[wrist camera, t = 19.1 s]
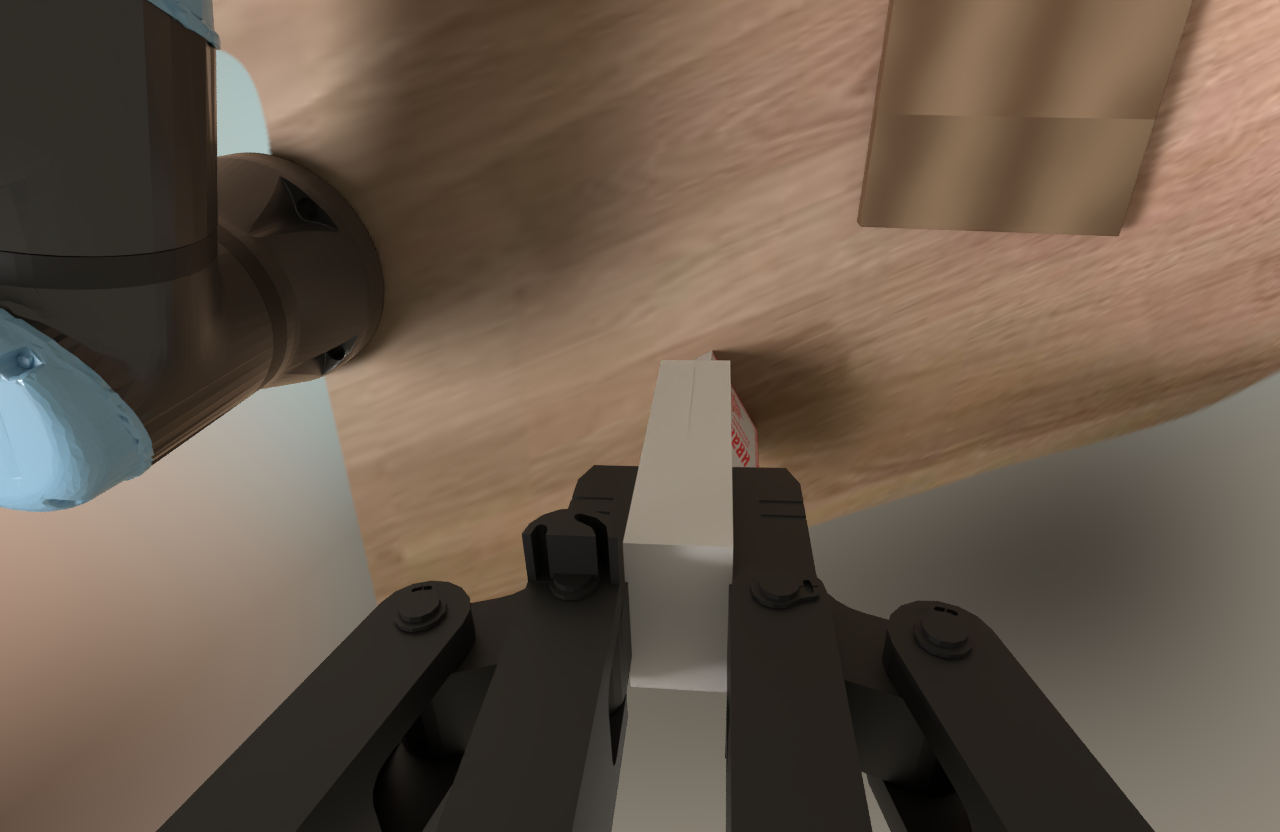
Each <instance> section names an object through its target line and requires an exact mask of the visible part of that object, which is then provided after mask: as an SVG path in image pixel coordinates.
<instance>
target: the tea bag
mask: <svg viewBox="0 0 1280 832" xmlns="http://www.w3.org/2000/svg"><path fill="white" fill-rule="evenodd" d="M694 360H717V358H716V356H715V355H714V353H713V351H710V352H708V353H706V354H704V355H702V356H700V357H698V358H696V359H694ZM731 438H732V467H759V461H758V432H757V429H756V428H755V426H754V424H753V422H752V421H751V419H750V417H749V415H748V413H747V412H746V410H745V408H744V406H743V405H742V403H741V401H740V399H739V397H738V396H737V394H736V392H735V390H734V388H733V387H732V385H731Z"/></svg>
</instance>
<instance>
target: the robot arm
mask: <svg viewBox="0 0 1280 832" xmlns="http://www.w3.org/2000/svg"><path fill="white" fill-rule="evenodd" d="M216 49H217V50H220V38H219V35H218V34H217V33H216V32H215V30H214V19H213V4H212V0H0V507H3V508H8V509H13V510H21V511H33V512H48V511H57V510H63V509H68V508H72V507H75V506H78V505H80V504H84V503H86V502H88V501H90V500H92V499H94V498H95V497H97V496H99V495H100V494H102V493H104V492H105V491H107V490H109V489H111V488H112V487H114V486H115V485H117V484H119V483H121V482H123V481H126V480H130V479H133V478H134V477H137V476H140V475H142V474H143V473H144V472H145V471H146V470H148V469H149V468H150V466H152V465H153V464H154V463H156V462H157V461H159V460H160V459H161V458H163V457H164V456H166V455H167V454H169V453H170V452H171V451H173V450H174V449H176V448H177V447H179V446H180V445H181V444H183V443H184V442H186V441H187V440H189V439H190V438H191V437H193V436H194V435H196V434H197V433H198V432H200V431H201V430H203V429H204V428H205V427H207V426H208V425H210V424H211V423H213V422H214V421H215V420H217V419H218V418H220V417H221V416H222V415H224V414H225V413H227V412H228V411H230V410H231V409H232V408H234V407H235V406H237V405H238V404H239V403H241V402H242V401H244V400H245V399H247V398H248V397H249V396H250V395H252V394H253V393H255V392H256V391H258V390H259V389H264V388H270V387H276V386H282V385H288V384H294V383H300V382H306V381H310V380H314V379H317V378H320V377H323V376H325V375H327V374H329V373H331V372H333V371H335V370H337V369H338V368H340V367H341V366H342V365H344V364H345V363H346V362H348V361H349V360H350V359H352V358H353V357H354V356H356V355H357V354H358V353H359V352H360V351H361V350H362V349H363V348H364V347H365V346H366V345H367V343H368V342H369V341H370V339H371V338H372V336H373V334H374V332H375V330H376V328H377V326H378V323H379V320H380V317H381V313H382V307H383V297H384V287H383V276H382V271H381V266H380V262H379V258H378V255H377V252H376V249H375V247H374V244H373V242H372V240H371V238H370V236H369V234H368V232H367V230H366V228H365V226H364V225H363V223H362V222H361V220H360V218H359V217H358V216H357V214H356V213H355V211H354V210H353V209H352V208H351V206H350V205H349V204H348V203H347V202H346V200H345V199H344V198H343V197H342V196H341V195H340V194H339V193H338V192H337V191H336V190H335V189H334V188H332V187H331V186H330V185H329V184H328V183H326V182H325V181H324V180H323V179H321V178H320V177H318V176H317V175H315V174H314V173H312V172H311V171H309V170H307V169H306V168H304V167H302V166H300V165H298V164H296V163H294V162H291V161H288V160H286V159H283V158H280V157H277V156H272V155H268V154H261V153H236V154H230V155H225V156H219V157H217V110H216V109H217V104H216V102H217V101H216ZM522 539H523V547H524V554H525V561H526V569H527V576H528V583H527V586H526V588H525V589H523V590H521V591H519V592H517V593H515V594H512V595H508V596H505V597H501V598H496V599H491V600H486V601H480V602H475V603H470V598H469V596H468V595H467V594H466V592H465V591H464V590H463V589H462V588H461V587H459V586H457V585H454V584H452V583H450V582H442V581H427V582H422V583H416V584H412V585H410V586H407V587H405V588H403V589H400V590H398V591H396V592H394V593H393V594H392V595H390V596H389V597H388V598H386V599H385V600H384V601H382V602H381V603H380V604H379V605H378V606H377V607H376V608H375V609H374V610H373V611H372V612H371V613H370V614H369V616H367V617H366V618H365V620H363V622H361V624H360V625H359V626H358V627H357V628H356V629H355V630H354V631H353V632H352V633H351V634H350V635H349V636H348V637H347V638H346V639H345V640H344V641H343V642H342V643H341V644H340V645H339V646H338V647H337V648H336V649H335V650H334V651H333V652H332V653H331V654H330V655H329V656H328V657H327V658H326V659H325V660H324V661H323V662H322V663H321V664H320V665H319V666H318V667H317V668H316V669H315V670H314V671H313V672H312V673H311V674H310V675H309V676H308V678H306V679H305V681H304V682H303V683H302V684H301V685H300V686H299V687H298V688H297V689H296V690H295V691H294V692H293V693H292V694H291V695H290V696H289V697H288V698H287V699H286V700H285V701H284V702H283V703H282V704H281V705H280V706H279V707H278V708H277V709H276V710H275V711H274V712H273V713H272V714H271V715H270V716H269V717H268V718H267V719H266V720H265V721H264V722H263V723H262V724H261V726H259V727H258V729H256V730H255V731H254V732H253V733H252V734H251V736H249V738H248V739H247V740H246V741H245V742H244V743H243V744H242V745H241V746H240V747H239V748H238V749H237V750H236V751H235V752H234V753H233V754H232V755H231V756H230V757H229V758H228V759H227V760H226V761H225V762H224V763H223V764H222V765H221V766H220V767H219V768H218V769H217V770H216V771H215V772H214V773H213V774H212V775H211V776H210V777H209V778H208V779H207V780H206V781H205V782H204V783H203V784H202V785H201V786H200V787H199V788H198V789H197V790H196V791H195V792H194V793H193V794H192V795H191V797H190V798H189V799H188V800H187V801H186V802H185V803H184V804H183V805H182V806H181V807H180V808H179V809H178V810H177V811H176V812H175V813H174V814H173V815H172V816H171V817H170V818H169V819H168V820H167V821H166V822H165V823H164V824H163V825H162V826H161V827H160V828H159V829H158V830H157V831H156V832H611V830H612V823H613V815H614V809H615V802H616V795H617V789H618V782H619V774H620V768H621V761H622V753H623V747H624V740H625V733H626V726H627V719H628V711H627V694H626V691H627V685H628V679H629V672H630V680H631V686H632V687H646V688H663V689H680V690H696V691H712V692H727V711H726V747H725V758H726V832H872V827H871V821H870V816H869V811H868V806H867V800H866V795H865V789H864V784H863V779H862V773H861V772H864V773H866V774H867V779H868V782H869V785H870V787H871V789H872V792H873V794H874V795H875V798H876V800H877V802H878V804H879V807H880V809H881V811H882V813H883V815H884V818H885V820H886V822H887V824H888V826H889V828H890V831H891V832H1155V831H1154V830H1153V829H1152V828H1151V826H1150V825H1149V824H1148V823H1147V821H1146V820H1145V819H1144V818H1143V816H1142V815H1141V814H1140V813H1139V811H1138V810H1137V809H1136V808H1135V806H1134V805H1133V804H1132V803H1131V802H1130V800H1129V799H1128V798H1127V797H1126V795H1125V794H1124V793H1123V792H1122V790H1121V789H1120V788H1119V787H1118V785H1117V784H1116V783H1115V782H1114V780H1113V779H1112V778H1111V777H1110V775H1109V774H1108V773H1107V772H1106V770H1105V769H1104V768H1103V767H1102V765H1101V764H1100V763H1099V762H1098V761H1097V759H1096V758H1095V757H1094V755H1093V754H1092V753H1091V752H1090V751H1089V749H1088V748H1087V747H1086V746H1085V744H1084V743H1083V742H1082V741H1081V740H1080V738H1079V737H1078V736H1077V735H1076V733H1075V732H1074V731H1073V729H1072V728H1071V727H1070V726H1069V724H1068V723H1067V722H1066V721H1065V719H1064V718H1063V717H1062V716H1061V714H1060V713H1059V712H1058V711H1057V709H1056V708H1055V707H1054V706H1053V705H1052V703H1051V702H1050V701H1049V700H1048V698H1047V697H1046V696H1045V695H1044V693H1043V692H1042V691H1041V690H1040V688H1039V687H1038V686H1037V685H1036V683H1035V682H1034V681H1033V680H1032V678H1031V677H1030V676H1029V675H1028V673H1027V672H1026V671H1025V670H1024V668H1023V667H1022V666H1021V665H1020V664H1019V662H1018V661H1017V660H1016V659H1015V657H1014V656H1013V655H1012V654H1011V652H1010V651H1009V650H1008V649H1007V647H1006V646H1005V645H1004V644H1003V642H1002V641H1001V640H1000V639H999V638H998V636H997V635H996V634H995V633H994V631H993V630H992V629H991V628H990V627H989V626H987V625H986V624H985V623H984V622H983V621H982V620H981V619H979V618H978V617H977V616H976V615H974V614H972V613H970V612H968V611H966V610H964V609H962V608H960V607H958V606H954V605H950V604H946V603H943V602H938V601H915V602H912V603H908V604H905V605H901V606H900V607H899V608H898V609H897V610H895V611H894V612H893V613H892V614H891V615H890V619H889V620H887V619H884V618H880V617H876V616H873V615H869V614H866V613H862V612H860V611H857V610H854V609H852V608H849V607H847V606H845V605H844V604H842V603H840V602H838V601H836V600H835V599H834V598H833V597H832V596H830V595H829V594H828V593H827V591H826V589H825V587H824V585H823V583H822V581H821V580H820V579H818V578H817V575H816V572H815V566H814V560H813V554H812V549H811V543H810V537H809V531H808V526H807V520H806V514H805V509H804V505H803V497H802V492H801V486H800V483H799V482H798V481H797V480H796V479H795V478H794V477H793V476H792V474H791V473H790V472H789V471H788V470H787V469H786V468H759V467H732V438H731V377H730V361H724V360H661V364H660V369H659V374H658V378H657V383H656V388H655V393H654V397H653V402H652V407H651V412H650V416H649V421H648V426H647V431H646V435H645V440H644V445H643V450H642V454H641V459H640V464H639V466H605V465H594V466H593V467H592V468H591V469H589V470H588V471H587V472H586V473H585V474H584V475H583V476H582V477H581V478H579V479H578V482H577V485H576V487H575V490H574V493H573V496H572V500H571V502H570V505H569V508H568V509H561V510H557V511H554V512H551V513H547V514H544V515H542V516H541V517H539V518H537V519H536V520H534V521H533V522H531V523H530V524H529V525H528V526H527V528H526V529H525V530H524V532H523V533H522Z"/></svg>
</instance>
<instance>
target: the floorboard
mask: <svg viewBox="0 0 1280 832" xmlns="http://www.w3.org/2000/svg"><path fill="white" fill-rule="evenodd" d="M1192 1H1193V0H890V1H889V8H888V15H887V22H886V28H885V35H884V42H883V49H882V56H881V63H880V69H879V76H878V83H877V90H876V97H875V103H874V110H873V117H872V124H871V131H870V137H869V144H868V151H867V158H866V165H865V171H864V178H863V185H862V192H861V199H860V206H859V212H858V219H857V222H858V224H859V225H860V226H861V227H886V228H913V229H939V230H966V231H993V232H1020V233H1046V234H1073V235H1100V236H1119V234H1120V231H1121V227H1122V224H1123V221H1124V218H1125V215H1126V212H1127V208H1128V205H1129V202H1130V199H1131V196H1132V192H1133V189H1134V186H1135V183H1136V180H1137V176H1138V173H1139V170H1140V167H1141V164H1142V161H1143V157H1144V154H1145V151H1146V148H1147V145H1148V141H1149V138H1150V135H1151V132H1152V129H1153V125H1154V122H1155V119H1156V116H1157V113H1158V110H1159V106H1160V103H1161V100H1162V97H1163V94H1164V90H1165V87H1166V84H1167V81H1168V78H1169V74H1170V71H1171V68H1172V65H1173V62H1174V59H1175V55H1176V52H1177V49H1178V46H1179V43H1180V39H1181V36H1182V33H1183V30H1184V27H1185V23H1186V20H1187V17H1188V14H1189V11H1190V8H1191V4H1192Z"/></svg>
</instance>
